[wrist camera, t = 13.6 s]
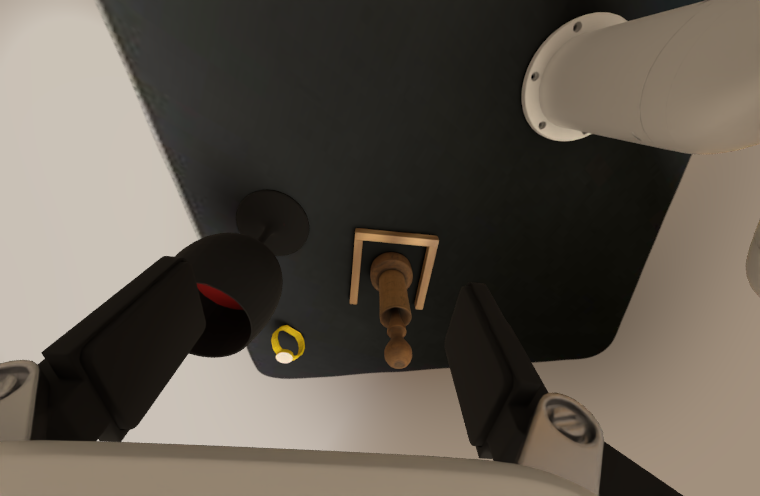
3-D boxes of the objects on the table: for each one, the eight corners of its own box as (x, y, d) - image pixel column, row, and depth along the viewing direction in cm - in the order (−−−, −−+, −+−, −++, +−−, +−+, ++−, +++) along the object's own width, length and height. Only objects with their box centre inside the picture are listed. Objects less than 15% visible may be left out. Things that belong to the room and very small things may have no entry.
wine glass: (224, 195, 39) (105, 280, 22) (298, 184, 39) (235, 263, 21) (252, 259, 45) (172, 369, 27) (317, 250, 44) (279, 357, 26)
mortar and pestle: (419, 271, 46) (442, 365, 30) (389, 292, 48) (396, 392, 32) (392, 244, 44) (402, 332, 28) (361, 268, 46) (354, 363, 30)
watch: (274, 325, 51) (263, 352, 46) (284, 317, 50) (273, 344, 45) (300, 343, 54) (292, 370, 48) (310, 335, 53) (303, 362, 47)
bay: (437, 235, 43) (439, 240, 42) (421, 304, 49) (422, 309, 48) (355, 227, 42) (355, 232, 41) (350, 298, 49) (349, 304, 47)
